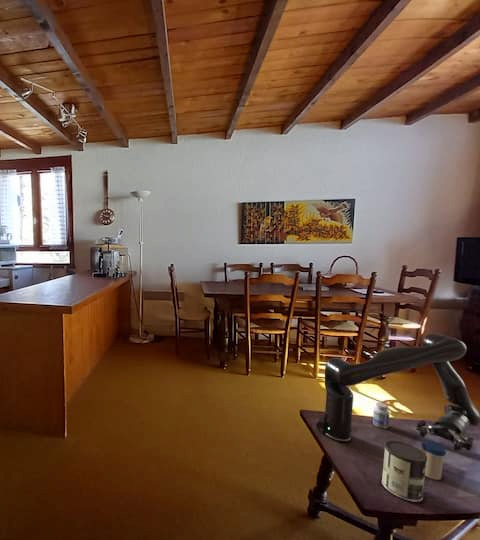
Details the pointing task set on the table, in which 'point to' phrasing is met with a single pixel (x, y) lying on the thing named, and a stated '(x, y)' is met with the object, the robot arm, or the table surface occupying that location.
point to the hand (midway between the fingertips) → (438, 440)
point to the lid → (433, 448)
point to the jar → (433, 465)
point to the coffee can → (404, 470)
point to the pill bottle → (381, 415)
